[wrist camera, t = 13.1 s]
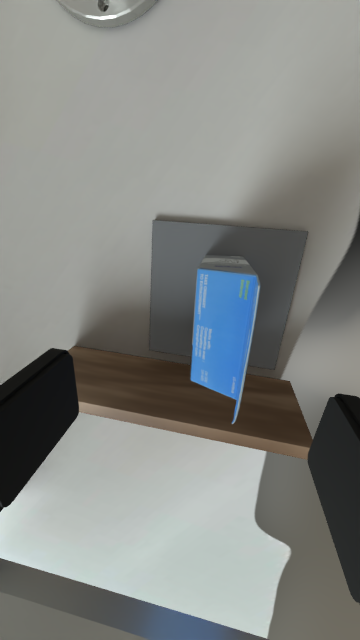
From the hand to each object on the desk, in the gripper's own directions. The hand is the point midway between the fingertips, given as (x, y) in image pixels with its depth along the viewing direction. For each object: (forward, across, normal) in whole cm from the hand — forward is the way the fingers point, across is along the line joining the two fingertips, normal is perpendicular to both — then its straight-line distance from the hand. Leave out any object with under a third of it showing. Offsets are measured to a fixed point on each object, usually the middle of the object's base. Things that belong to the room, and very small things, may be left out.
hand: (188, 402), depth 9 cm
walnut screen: (+17, +4, +10) cm, 20 cm away
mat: (+17, 0, +1) cm, 17 cm away
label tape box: (+17, -1, +1) cm, 17 cm away
